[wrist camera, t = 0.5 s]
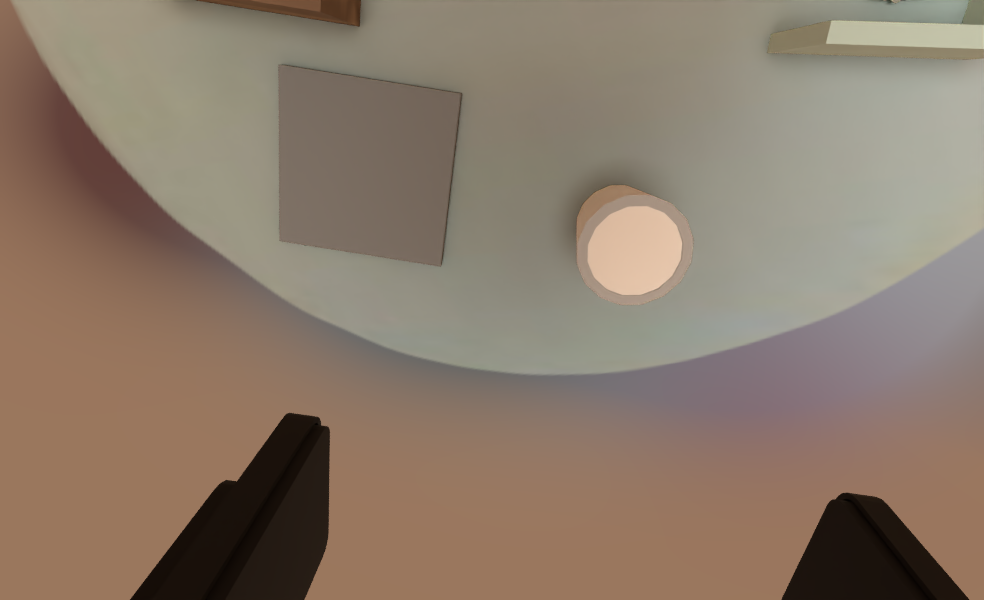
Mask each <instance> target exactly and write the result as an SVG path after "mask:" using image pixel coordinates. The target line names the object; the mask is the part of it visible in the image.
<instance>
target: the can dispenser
mask: <svg viewBox="0 0 984 600" xmlns="http://www.w3.org/2000/svg"><path fill="white" fill-rule="evenodd" d="M197 1H204V2H210V3H216V4H222V5H229V6H235V7H241V8H247V9H254V10H260V11H266V12H272V13H279V14H285V15H291V16H297V17H303V18H310V19H316V20H322V21H328V22H335V23H341V24H347V25H353V26H360V6H361V0H197Z"/></svg>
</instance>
